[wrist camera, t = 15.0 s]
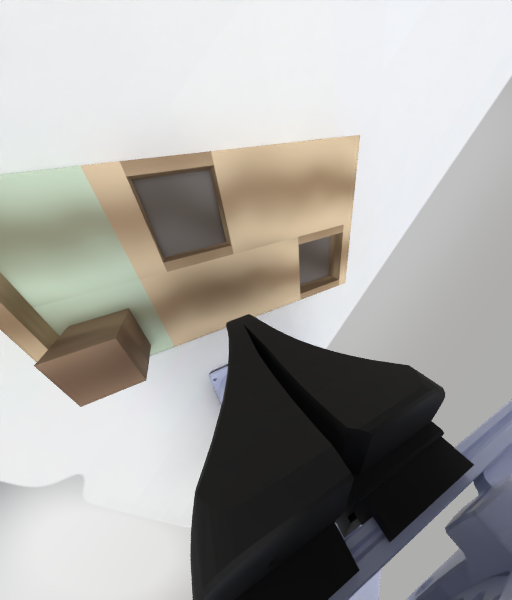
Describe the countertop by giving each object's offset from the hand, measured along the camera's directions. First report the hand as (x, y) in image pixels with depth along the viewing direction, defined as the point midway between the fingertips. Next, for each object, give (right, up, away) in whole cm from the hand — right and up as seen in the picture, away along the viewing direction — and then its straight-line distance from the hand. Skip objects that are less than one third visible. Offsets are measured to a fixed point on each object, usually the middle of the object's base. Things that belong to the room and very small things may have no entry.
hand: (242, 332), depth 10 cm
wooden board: (-3, +6, +7) cm, 10 cm away
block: (-11, -1, +5) cm, 12 cm away
